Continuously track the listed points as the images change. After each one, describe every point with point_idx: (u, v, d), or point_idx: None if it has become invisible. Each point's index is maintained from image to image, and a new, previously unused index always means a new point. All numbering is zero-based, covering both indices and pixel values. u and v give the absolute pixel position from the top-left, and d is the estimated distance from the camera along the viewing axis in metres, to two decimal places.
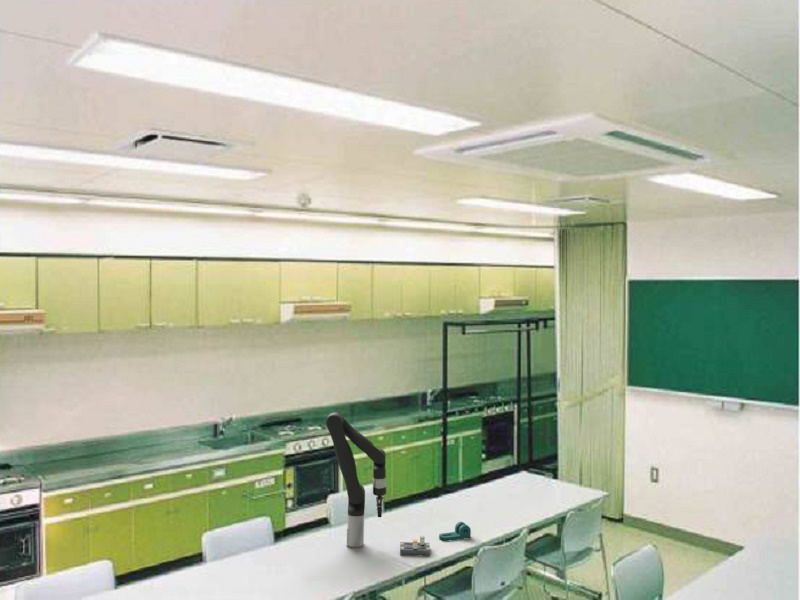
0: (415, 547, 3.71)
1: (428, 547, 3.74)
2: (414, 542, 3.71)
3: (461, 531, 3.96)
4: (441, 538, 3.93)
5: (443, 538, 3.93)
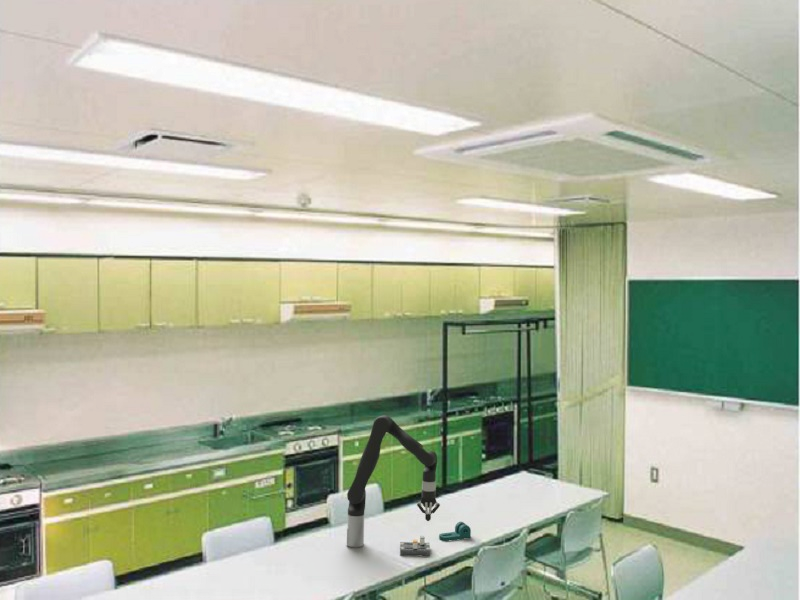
0: (415, 547, 3.71)
1: (428, 547, 3.74)
2: (414, 542, 3.71)
3: (461, 531, 3.96)
4: (441, 538, 3.93)
5: (443, 538, 3.93)
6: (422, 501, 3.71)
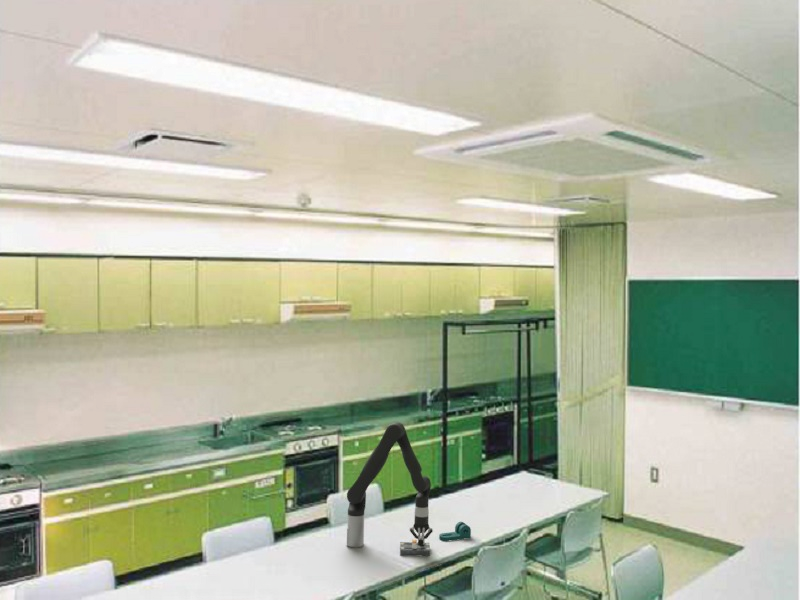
0: (414, 547, 3.71)
1: (428, 547, 3.74)
2: (413, 542, 3.71)
3: (461, 531, 3.96)
4: (441, 538, 3.94)
5: (443, 538, 3.93)
6: (415, 526, 3.72)
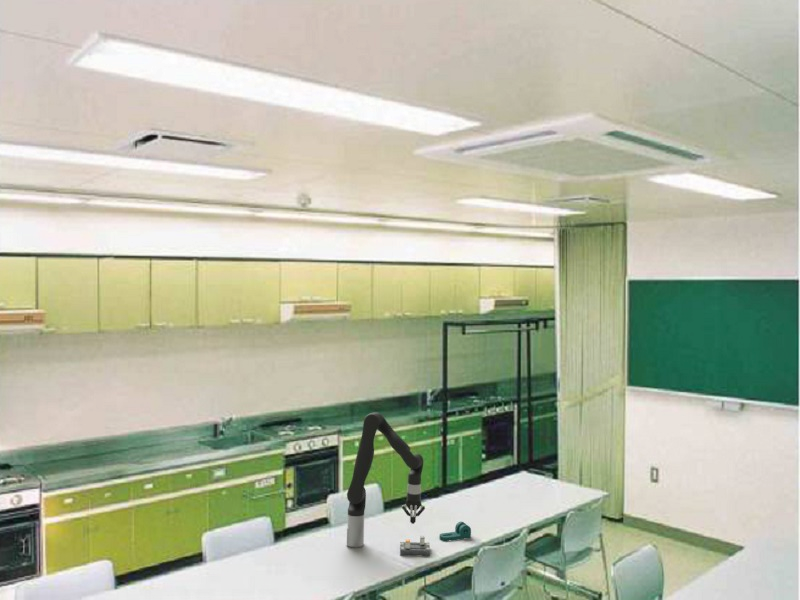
0: (407, 547, 3.71)
1: (428, 547, 3.74)
2: (406, 542, 3.71)
3: (461, 531, 3.96)
4: (441, 538, 3.94)
5: (443, 538, 3.93)
6: (407, 504, 3.71)
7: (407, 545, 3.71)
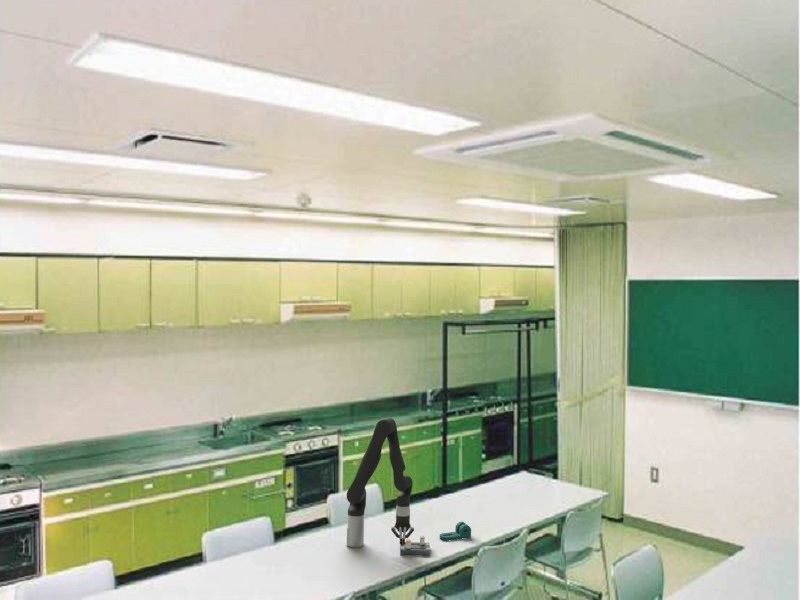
0: (408, 547, 3.71)
1: (428, 547, 3.74)
2: (407, 542, 3.71)
3: (461, 531, 3.96)
4: (442, 538, 3.94)
5: (444, 538, 3.93)
6: (396, 526, 3.71)
7: (408, 545, 3.71)
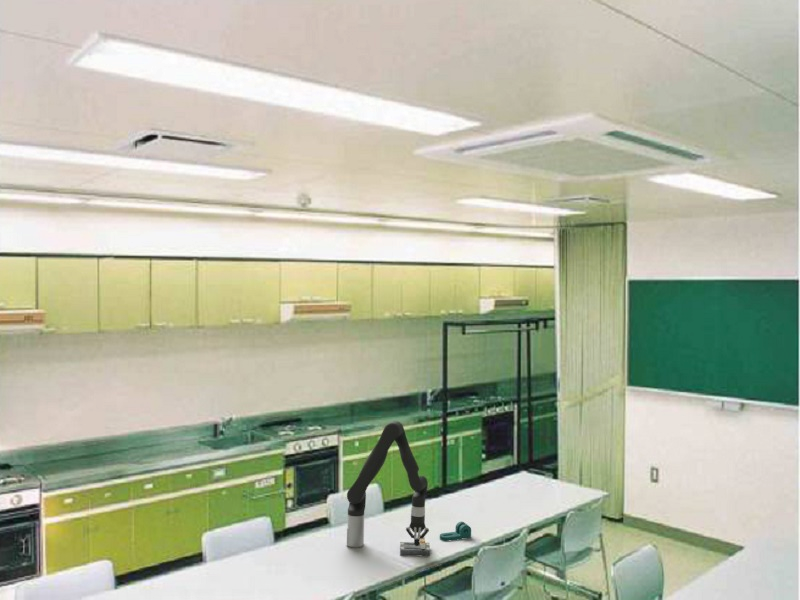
0: (423, 547, 3.71)
1: (428, 547, 3.74)
2: (422, 542, 3.71)
3: (462, 531, 3.96)
4: (442, 538, 3.94)
5: (444, 538, 3.93)
6: (411, 526, 3.71)
7: (422, 545, 3.71)
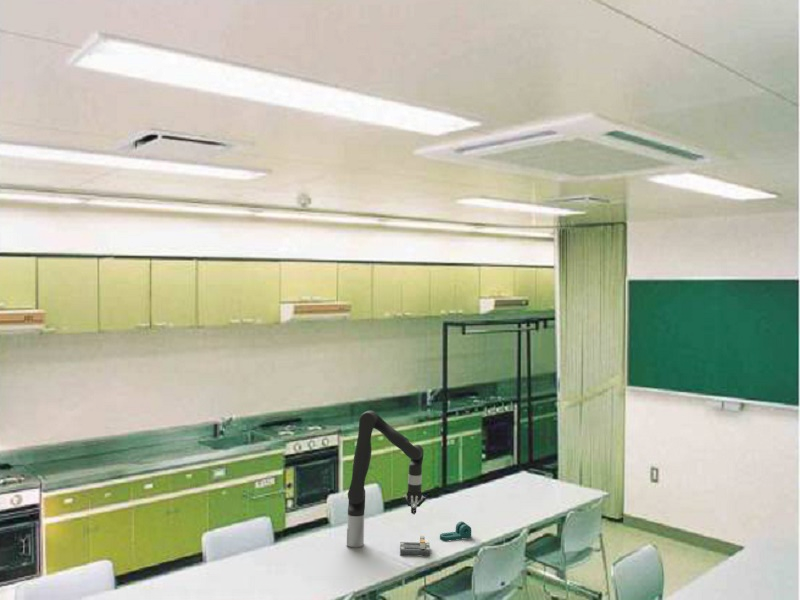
0: (423, 547, 3.71)
1: (428, 547, 3.74)
2: (422, 542, 3.71)
3: (462, 531, 3.96)
4: (442, 538, 3.94)
5: (444, 538, 3.93)
6: (408, 494, 3.75)
7: (422, 545, 3.71)
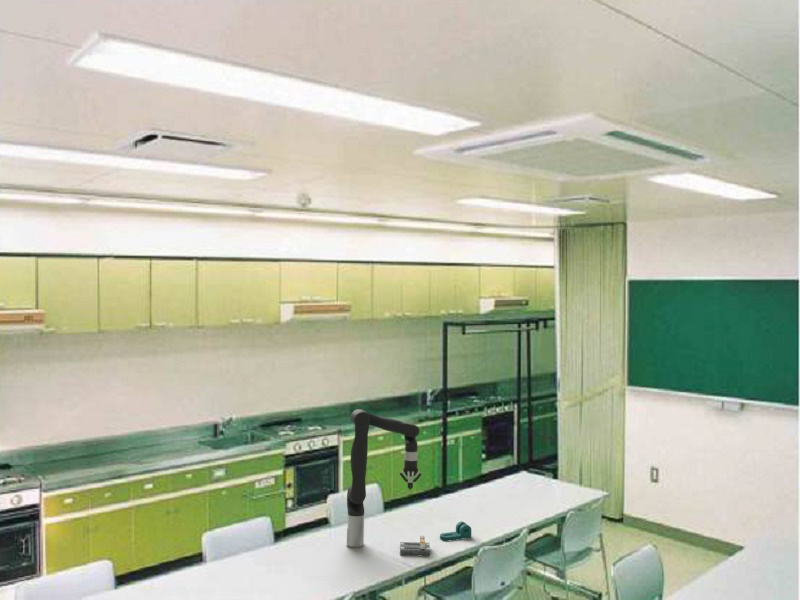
0: (423, 547, 3.71)
1: (428, 547, 3.74)
2: (422, 542, 3.71)
3: (462, 531, 3.96)
4: (442, 538, 3.94)
5: (444, 538, 3.93)
6: (404, 470, 3.92)
7: (422, 545, 3.71)
